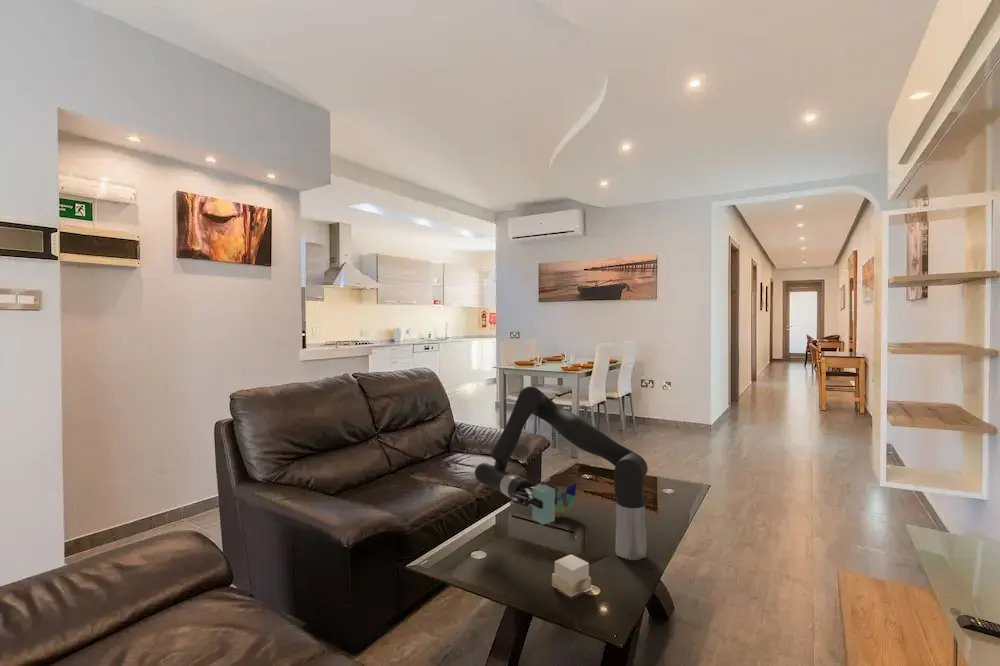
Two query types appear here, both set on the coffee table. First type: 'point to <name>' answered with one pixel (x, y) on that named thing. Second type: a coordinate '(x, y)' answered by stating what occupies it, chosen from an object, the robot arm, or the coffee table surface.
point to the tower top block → (571, 569)
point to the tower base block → (570, 585)
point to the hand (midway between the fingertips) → (549, 503)
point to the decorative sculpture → (564, 497)
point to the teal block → (544, 504)
